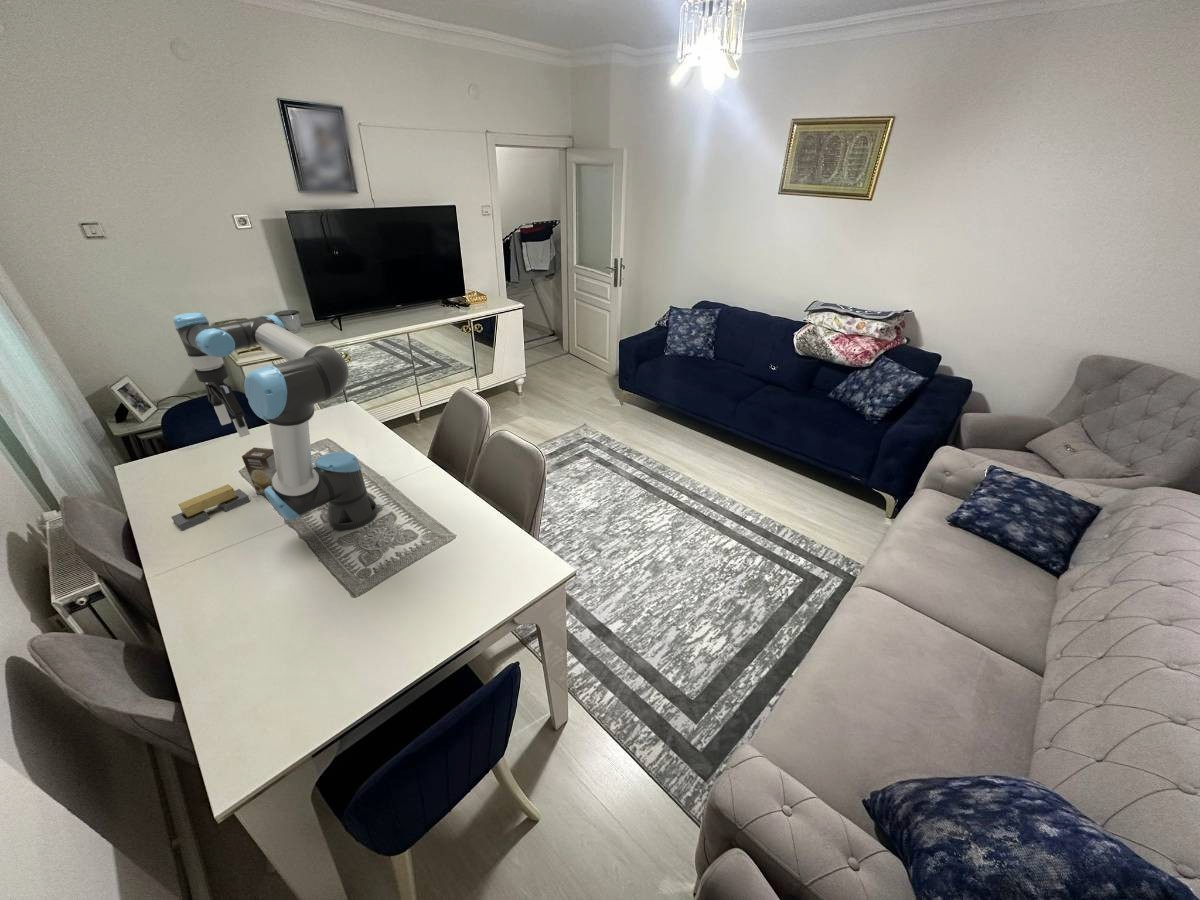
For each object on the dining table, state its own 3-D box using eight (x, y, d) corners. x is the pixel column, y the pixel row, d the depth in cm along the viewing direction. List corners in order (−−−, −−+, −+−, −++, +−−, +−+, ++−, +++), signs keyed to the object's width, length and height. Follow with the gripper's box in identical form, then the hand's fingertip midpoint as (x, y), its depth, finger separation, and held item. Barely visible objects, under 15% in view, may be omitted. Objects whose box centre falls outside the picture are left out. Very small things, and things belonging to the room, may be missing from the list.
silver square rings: (250, 501, 168) (248, 495, 167) (182, 530, 154) (179, 524, 153) (241, 494, 172) (239, 488, 170) (174, 522, 157) (171, 516, 156)
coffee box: (255, 494, 172) (239, 456, 164) (268, 484, 177) (253, 447, 169) (280, 496, 171) (264, 458, 163) (291, 486, 176) (277, 448, 168)
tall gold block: (240, 503, 167) (233, 488, 164) (191, 524, 157) (182, 508, 154) (235, 499, 169) (228, 484, 166) (186, 519, 159) (178, 504, 156)
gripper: (241, 372, 139) (266, 436, 150) (207, 354, 152) (232, 414, 162) (212, 379, 134) (239, 445, 145) (178, 361, 146) (206, 422, 157)
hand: (235, 429), depth 154 cm, fingers open, 13 cm apart
